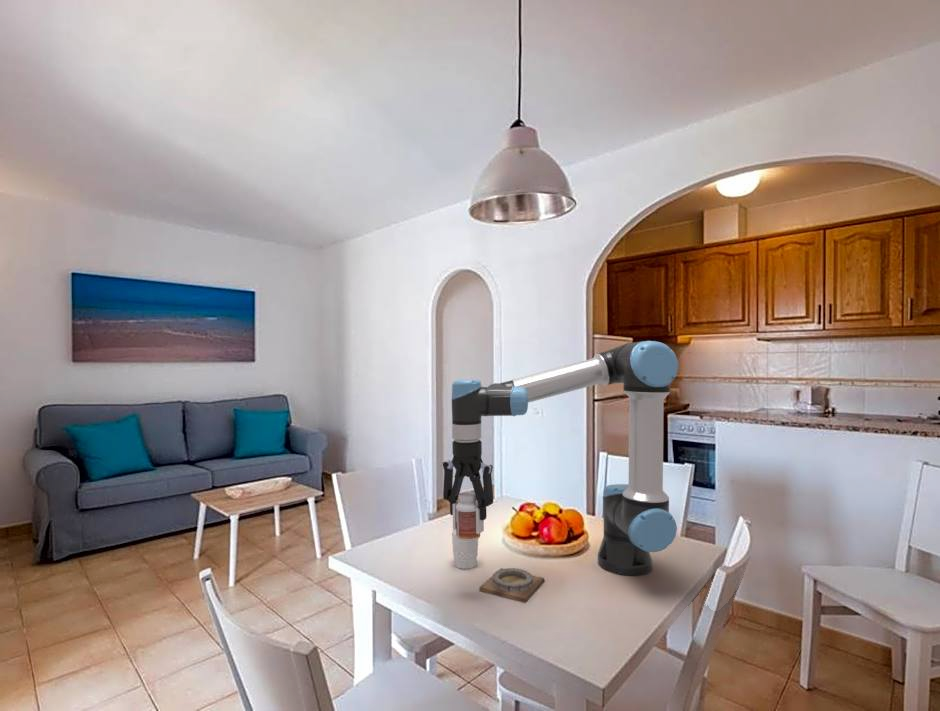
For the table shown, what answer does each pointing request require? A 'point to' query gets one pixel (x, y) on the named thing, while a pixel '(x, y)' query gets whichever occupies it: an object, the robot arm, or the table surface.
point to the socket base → (513, 594)
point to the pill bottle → (466, 517)
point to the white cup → (464, 552)
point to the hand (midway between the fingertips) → (468, 529)
